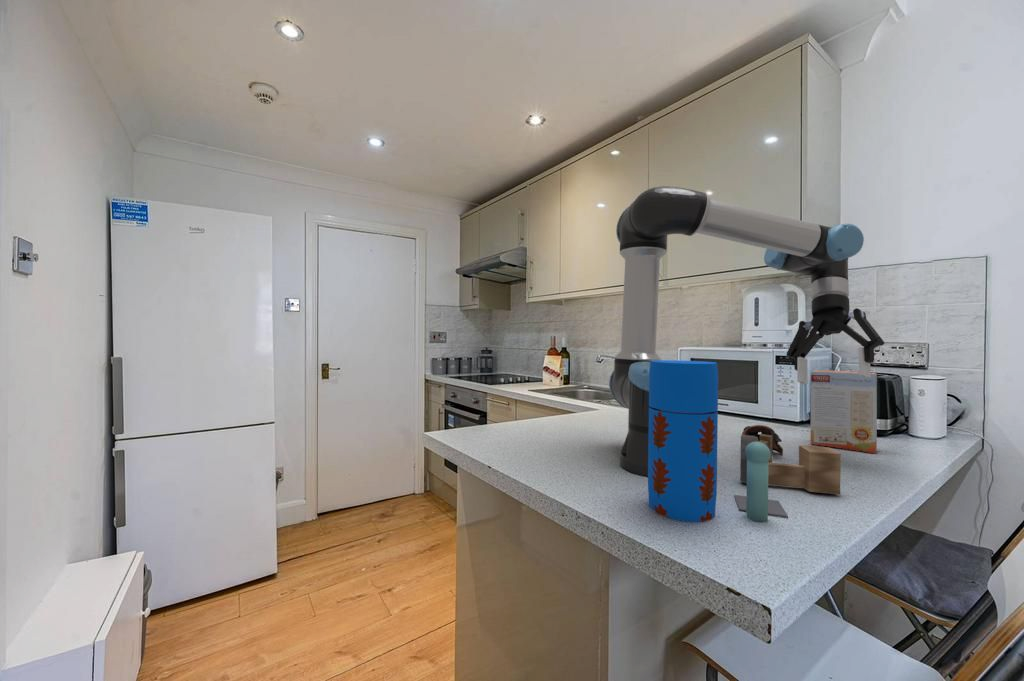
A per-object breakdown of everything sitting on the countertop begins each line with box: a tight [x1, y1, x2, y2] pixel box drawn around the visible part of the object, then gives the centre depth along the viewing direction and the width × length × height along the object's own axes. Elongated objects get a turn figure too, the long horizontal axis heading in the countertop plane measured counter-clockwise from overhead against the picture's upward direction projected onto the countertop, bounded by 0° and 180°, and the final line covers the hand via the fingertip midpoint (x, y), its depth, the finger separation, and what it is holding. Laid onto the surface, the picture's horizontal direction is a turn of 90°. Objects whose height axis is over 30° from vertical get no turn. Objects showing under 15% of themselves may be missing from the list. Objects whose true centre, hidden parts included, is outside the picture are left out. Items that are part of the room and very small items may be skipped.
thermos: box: [647, 359, 719, 523], centre depth 70 cm, size 11×11×25 cm
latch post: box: [745, 442, 771, 523], centre depth 67 cm, size 4×4×12 cm
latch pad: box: [733, 494, 789, 519], centre depth 71 cm, size 7×7×1 cm
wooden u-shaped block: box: [739, 434, 842, 495], centre depth 81 cm, size 16×5×9 cm, turn 74°
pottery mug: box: [741, 424, 784, 456], centre depth 106 cm, size 12×10×8 cm
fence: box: [758, 433, 773, 463], centre depth 88 cm, size 2×10×8 cm, turn 134°
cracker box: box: [810, 369, 878, 454], centre depth 113 cm, size 14×6×21 cm, turn 49°
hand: (831, 380), depth 98 cm, fingers open, 13 cm apart
